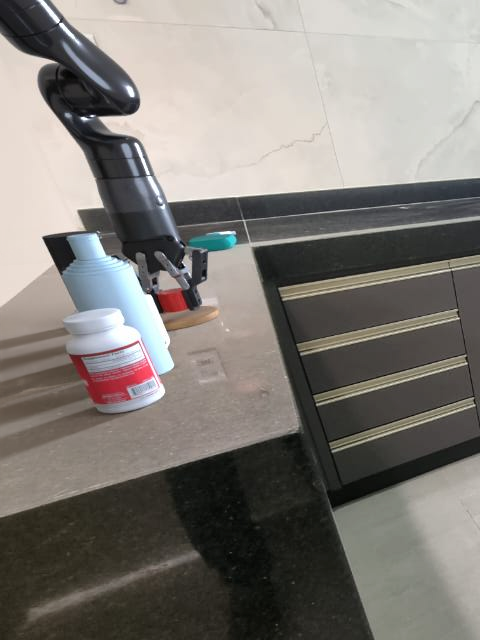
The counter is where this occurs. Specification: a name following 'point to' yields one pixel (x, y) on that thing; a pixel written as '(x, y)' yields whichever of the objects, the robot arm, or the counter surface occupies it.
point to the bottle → (113, 293)
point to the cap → (172, 300)
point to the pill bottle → (112, 361)
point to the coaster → (188, 317)
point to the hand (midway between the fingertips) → (179, 310)
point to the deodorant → (61, 249)
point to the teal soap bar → (214, 241)
